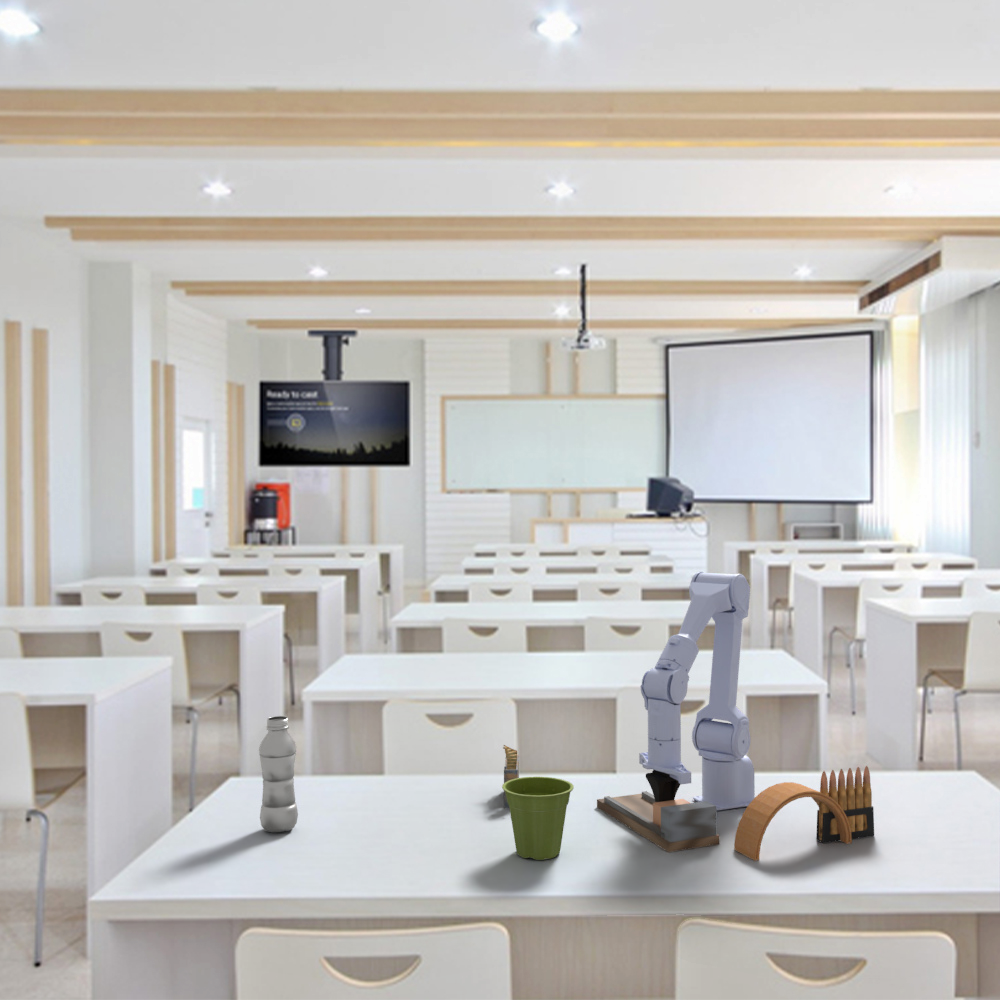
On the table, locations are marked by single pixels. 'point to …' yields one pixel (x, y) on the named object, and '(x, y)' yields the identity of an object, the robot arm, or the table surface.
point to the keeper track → (648, 814)
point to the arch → (769, 805)
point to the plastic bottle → (278, 777)
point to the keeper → (658, 806)
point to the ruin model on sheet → (510, 768)
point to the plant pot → (538, 814)
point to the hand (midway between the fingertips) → (664, 814)
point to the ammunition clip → (846, 805)
